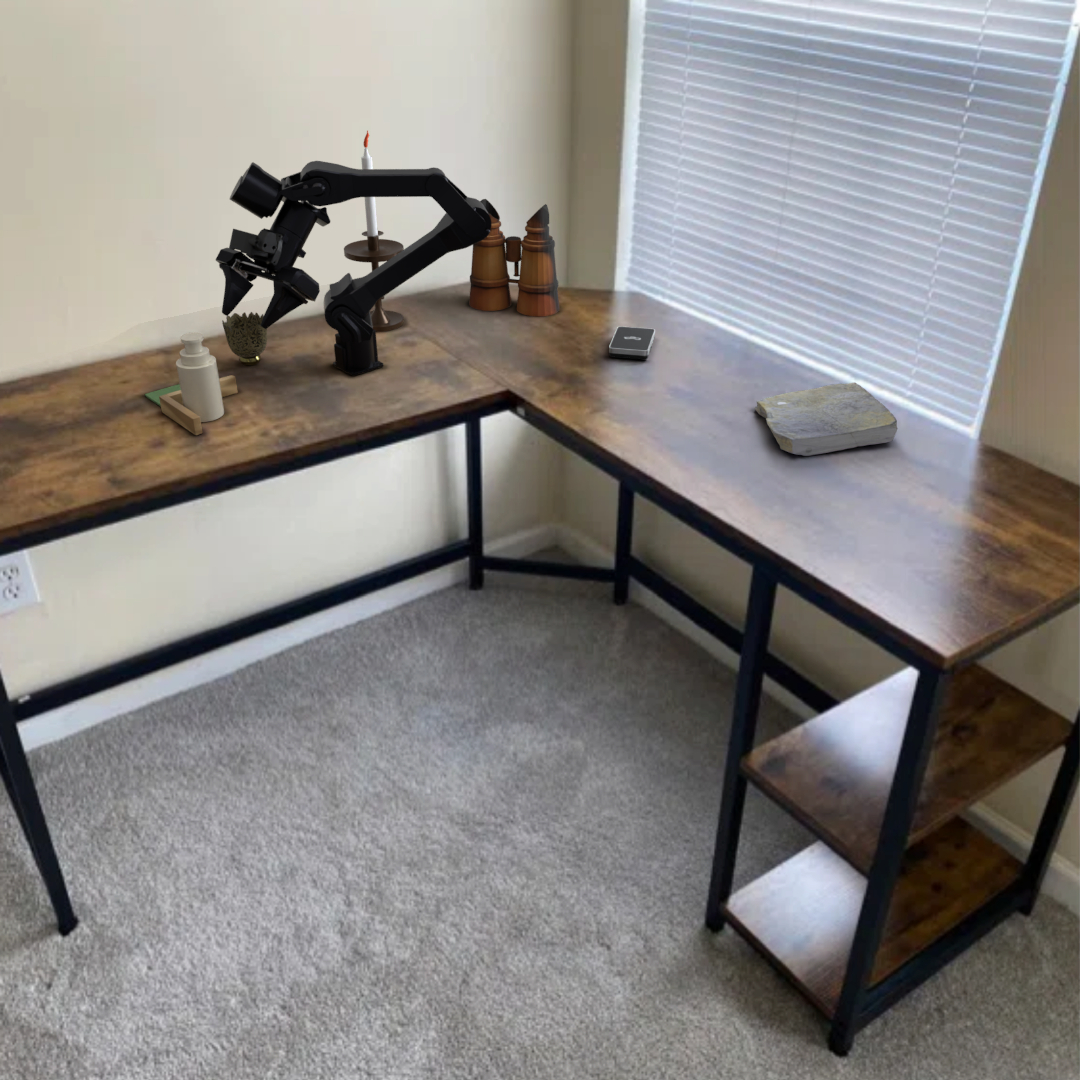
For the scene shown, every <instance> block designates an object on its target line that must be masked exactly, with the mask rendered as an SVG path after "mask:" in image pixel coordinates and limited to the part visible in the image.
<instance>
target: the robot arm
mask: <svg viewBox="0 0 1080 1080" xmlns="http://www.w3.org/2000/svg"><path fill="white" fill-rule="evenodd" d="M365 197H375V198H408V197H409V198H415V197H416V198H417V197H419V198H420V197H421V198H423V197H424V198H427V197H429V198H432V199H433V200H434V201H435V202H436V203H437V204H438V205H439V206H440V208H442V210H443V211H444V212H445V213H444V215H443V216H442V217H441V219H440V220H439V221H438V223H437V224H436V225H435V227H434V228H433V229H431V231H429V232H427V233H426V234H424V235H423V236H421V237H420V238H418V239H417V240H416V241H414V242H413V243H411V244H410V245H408V246H407V247H405V248H404V250H403V251H401V252H400V253H398V254H397V255H395V256H394V257H392V258H391V259H389V260H388V261H384V262H383V263H382V264H381V265H379V267H378V268H376V269H375V270H373V271H372V270H371V271H370V272H369V273H367V274H366V275H364V276H361V277H357V278H353V277H352V275H351V273H350V272H348V273H345V275H344V276H342V277H341V279H339V280H338V281H336V282H335V283H330V284H329V285H328V286H329V290H327V291H326V293H325V294H324V297H323V315H324V320H325V322H326V323H327V325H328V326H329V327H331V329H333V330H335V331H336V333H335V334H334V339H335V343H333V349H334V350H333V351H334V359H335V360H334V362H332V366H333V367H334V368H337V369H338V370H341V371H343V372H344V373H347V374H348V375H349V376H350V375H351V376H353V377H355V376H359V375H361V374H364V373H365V374H366V373H367V372H370V371H374V370H377V369H381V368H384V366H385V365H384V362H381V361H380V360H379V356H378V355H379V354H378V344H377V332H376V330H374V329H373V325H372V320H371V314H370V311H372V309H373V308H374V307H375V304H376V302H377V301H378V300H379V299H380V298H382V297H383V296H384V297H385V296H386V295H388V294H389V293H391V292H392V291H394V290H395V289H397V288H398V287H400V286H401V285H402V284H404V283H405V282H407V281H409V280H410V279H411V278H413V277H415V276H416V275H417V274H418V273H420V272H422V271H423V270H424V269H426V268H428V267H429V266H431V265H432V264H434V263H435V262H436V261H438V260H439V259H441V258H442V257H444V256H445V255H447V254H449V253H451V252H452V253H453V252H456V251H460V250H463V249H466V248H469V247H471V246H473V245H474V244H476V243H478V242H480V241H482V240H484V239H485V238H486V237H487V236H488V235H489V233H490V230H491V226H492V224H491V218H490V216H489V214H488V212H487V210H486V209H485V207H484V205H483V204H482V203H481V202H480V201H481V200H479V199H477V198H474V197H470V196H467V195H466V193H464V191H462V189H461V188H459V187H458V186H457V185H456V184H455V183H454V182H453V181H451V180H450V178H448V176H447V175H446V174H445V173H444V171H443V170H442V169H440V168H438V167H429V168H395V169H394V168H373V169H362V168H353V167H349V166H345V165H342V164H339V163H335V162H334V163H333V162H328V161H323V160H314V161H309V162H308V163H306V164H305V165H304V166H303V167H302V168H301V171H299V172H296V173H293V174H290V175H287V176H284V177H282V178H281V179H280V180H279V179H278V178H277V177H275V176H273V174H270V173H269V172H267V171H266V170H264V169H263V168H262V167H261V166H260V165H259V164H257V163H255V162H254V161H253V162H251V163H250V165H249V167H248V168H246V170H245V171H244V173H243V174H242V175H240V176H239V179H238V180H237V182H236V184H235V185H234V188H233V190H232V192H231V194H230V196H229V200H230V202H233V203H235V204H236V205H237V206H239V207H241V208H242V209H244V210H246V211H248V212H249V213H251V214H253V215H254V216H255V217H257V218H258V219H261V220H262V219H264V218H266V219H267V218H272V217H273V216H274V215H275V213H276V211H277V210H278V208H279V206H280V204H281V202H283V203H282V205H281V207H280V209H279V210H278V212H277V215H276V216H275V218H274V221H272V224H271V226H270V228H269V229H268V228H265V227H264V228H262V229H261V230H259V232H258V234H255V233H251V232H248V231H243V230H241V229H236V228H232V232H231V236H230V241H229V246H228V247H224V248H222V249H220V250H219V252H218V253H217V256H216V258H215V262H217V263H218V266H219V269H220V270H222V273H223V275H224V280H225V281H224V282H225V283H224V293H223V299H222V300H223V301H222V305H221V313H222V314H223V315H224V316H225V317H227V316H230V314H231V313H232V312H233V311H234V310H235V309H236V308H237V306H238V305H239V304H240V302H241V301H242V300H243V299H244V298H245V296H247V294H248V293H249V292H250V291H251V289H252V288H253V287H254V284H253V283H252V282H253V281H255V280H257V278H258V277H259V278H263V279H265V280H268V281H272V282H273V283H272V284H273V295H272V297H271V299H270V301H269V303H268V306H267V308H266V310H265V312H264V314H263V316H264V317H263V319H262V322H261V327H263V328H264V329H267V330H268V328H270V327H271V326H273V325H274V324H275V323H277V322H278V321H279V320H281V319H282V318H284V317H285V316H286V315H288V314H289V313H290V312H291V313H292V312H293V311H294V310H295V309H298V308H299V307H301V306H302V305H308V303H309V301H312V302H316V300H317V298H318V296H319V294H320V292H321V290H320V289H321V288H320V283H319V282H318V281H317V280H315V279H314V278H313V277H312V276H311V275H309V274H308V273H307V272H306V271H305V270H303V269H302V268H298V267H295V264H296V261H297V260H298V258H301V259H304V258H305V256H306V254H307V252H306V251H305V250H304V249H303V248H304V246H305V244H306V242H307V240H308V238H309V236H310V234H311V233H312V230H313V228H314V227H315V224H318V225H319V226H321V227H326V226H327V225H328V226H329V224H331V219H330V217H329V213H328V210H327V209H328V208H327V207H326V206H331V205H337V204H342V203H344V202H347V201H350V200H353V199H359V198H365ZM318 207H320V208H318Z"/></svg>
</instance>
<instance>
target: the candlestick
mask: <svg viewBox="0 0 1080 1080" xmlns="http://www.w3.org/2000/svg"><path fill="white" fill-rule="evenodd" d="M369 137H370V134H369V130H366V133H365V136H364V139H363V147H364V151H363V155H362V156H361V157H360V158H361V169H374V165H373V156H371V155H370V153H369V149H368V148H369V147H368V145H369ZM376 204H377V203H376V197H364V207H365V220H366V221H365V222H366V230H365V231H362V232H361V236H362V237H366V239H360V240H357V241H353V242H350V243H347V244H346V245H344V247H343V254H344V257H345V258H346V259H348V260H350V261H353V262H359V263H370V264H371V272H372V271H373V270H375V269H376V268H378V267H379V266H380V264H379V263H385V262H387V261H388V260H389V259H391V258H392V257H394V256H395V255H397V254H398V253H400V252H401V251H403V250H404V249H405V248H404V245H403V243H401V242H399V241H396V240H392V239H386V238H385V239H384V238H380V236H383V235H384V234H385V232H383V231H381V230H378V217H377V205H376ZM384 299H385V296H383V297H382V298H380V299H379V300H378V301H377V302H376V304H375V305H374V309H373V310H370V314H371V320H372V325H373V329H374V330H376V333H380V332H381V333H382V332H390V331H393V330H396V329H398V328H401V327H402V326H403V325H404V322H405V321H404V316H403V314H401V313H400V312H397V311H394V310H387V309H385V310H384V308H383V301H382V300H384Z"/></svg>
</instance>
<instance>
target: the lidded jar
mask: <svg viewBox="0 0 1080 1080" xmlns="http://www.w3.org/2000/svg"><path fill="white" fill-rule="evenodd" d="M204 339H205V337H204V334H203V333H202V332H196V331H195V332H194V331H193V332H187V333H183V334H181V335H180V337H179V340H180V342H181V343H182V344H183V345H184V348H182V349H181V350H180V351H179V358H178V359H177V360H176V362H175V367H176V372H177V378H178V384H180V390H181V395H182V401H183V406H184V407H186V408H187V409H189V410H190V411H192V412H193V413H195V414H196V415H198V416H199V417H200V421H201V423H207V422H212V421H216V420H218V419H220V418H222V417H223V416H224V414H225V406H224V400H223V397H222V394H221V387H220V381H219V378H220V375H219V370H218V363H217V358H216V357H215V356H214V355H212V354H211V353H210V349H209V348H208V347H207V346H203V341H204Z"/></svg>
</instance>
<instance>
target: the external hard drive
mask: <svg viewBox="0 0 1080 1080" xmlns="http://www.w3.org/2000/svg"><path fill="white" fill-rule="evenodd" d="M655 338H656V329H654V328H651V327H650V328H648V327H635V326H621V325H620V326H617V327H616V329H615V332H614V333H613V337H612V339H611V340H610V344H609V346H608V355H609V357H610V358H620V359H630V360H631V359H632V360H643V361H644V360H645V361H646V360H647V359H648V358H649V356H650V355H649V354H650V353H651V350H652V347H653V343H654V341H655Z"/></svg>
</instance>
